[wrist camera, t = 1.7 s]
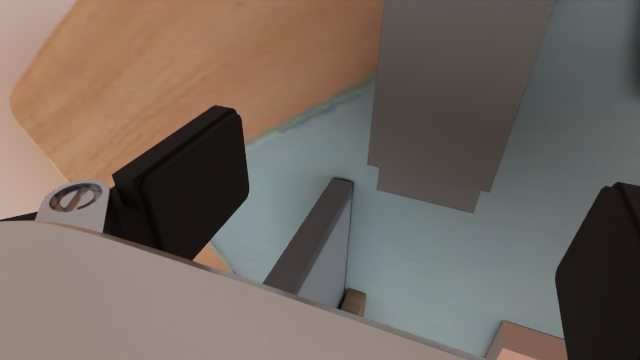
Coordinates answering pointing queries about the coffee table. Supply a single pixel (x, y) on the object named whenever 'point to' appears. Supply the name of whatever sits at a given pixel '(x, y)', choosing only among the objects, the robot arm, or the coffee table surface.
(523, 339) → the square frame
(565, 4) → the coffee table surface
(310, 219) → the sliding door
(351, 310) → the door wall
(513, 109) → the grey stepped block
